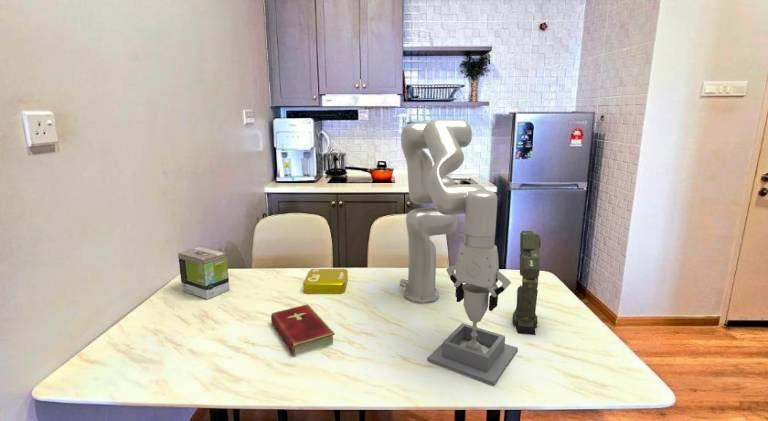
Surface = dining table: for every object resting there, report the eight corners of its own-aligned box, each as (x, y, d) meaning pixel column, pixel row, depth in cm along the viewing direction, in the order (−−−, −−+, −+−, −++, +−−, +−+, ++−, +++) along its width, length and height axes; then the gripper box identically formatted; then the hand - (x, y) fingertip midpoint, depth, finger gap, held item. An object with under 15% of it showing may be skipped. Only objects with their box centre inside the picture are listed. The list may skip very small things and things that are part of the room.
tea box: (231, 290, 153) (227, 252, 149) (206, 300, 144) (202, 260, 141) (205, 281, 160) (201, 245, 157) (181, 290, 152) (176, 252, 149)
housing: (427, 361, 109) (427, 344, 107) (456, 331, 123) (457, 316, 122) (494, 386, 99) (495, 367, 97) (517, 351, 113) (518, 334, 112)
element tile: (344, 295, 149) (344, 282, 148) (302, 295, 149) (302, 282, 148) (348, 279, 164) (348, 267, 163) (310, 279, 164) (309, 267, 163)
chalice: (488, 347, 113) (492, 284, 109) (486, 360, 106) (489, 295, 102) (461, 342, 115) (464, 281, 111) (457, 355, 109) (460, 291, 105)
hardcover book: (293, 358, 111) (292, 344, 110) (271, 324, 128) (270, 312, 127) (335, 345, 117) (334, 332, 116) (308, 315, 134) (307, 303, 133)
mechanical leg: (541, 339, 117) (546, 232, 117) (515, 336, 119) (519, 231, 119) (534, 326, 131) (538, 231, 131) (510, 324, 132) (514, 229, 132)
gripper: (440, 237, 105) (438, 301, 109) (508, 250, 96) (503, 319, 100) (453, 231, 111) (451, 291, 115) (518, 242, 102) (513, 307, 106)
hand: (475, 304), depth 107 cm, fingers open, 8 cm apart
